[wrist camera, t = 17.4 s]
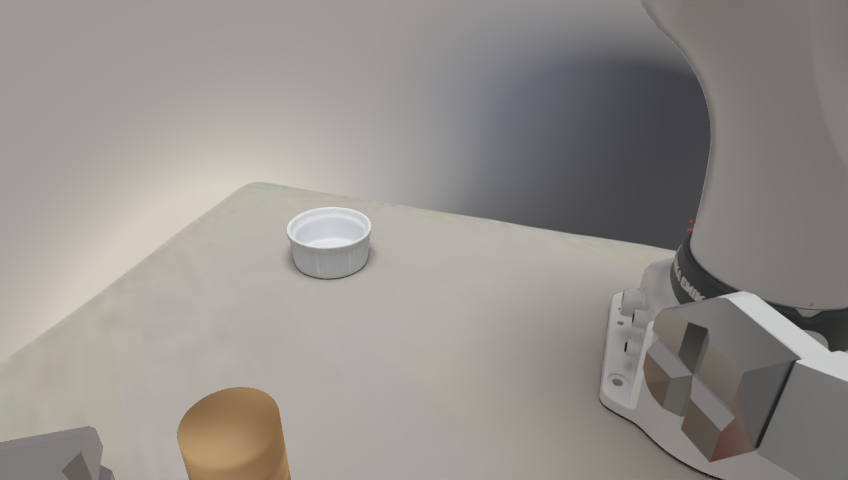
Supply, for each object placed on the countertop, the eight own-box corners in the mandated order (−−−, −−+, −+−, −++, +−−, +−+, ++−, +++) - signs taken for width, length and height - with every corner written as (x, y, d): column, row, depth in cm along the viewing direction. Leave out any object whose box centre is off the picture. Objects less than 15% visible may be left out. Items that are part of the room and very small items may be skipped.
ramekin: (329, 231, 72) (327, 198, 70) (389, 255, 68) (388, 221, 66) (272, 264, 66) (268, 229, 64) (334, 293, 62) (331, 257, 59)
